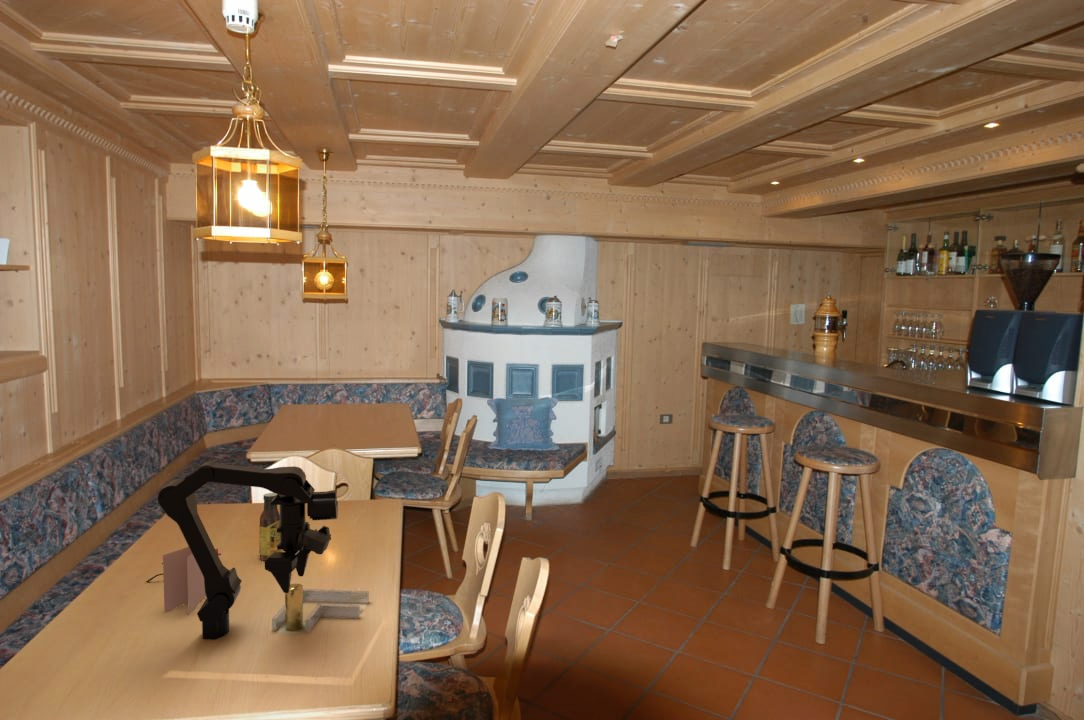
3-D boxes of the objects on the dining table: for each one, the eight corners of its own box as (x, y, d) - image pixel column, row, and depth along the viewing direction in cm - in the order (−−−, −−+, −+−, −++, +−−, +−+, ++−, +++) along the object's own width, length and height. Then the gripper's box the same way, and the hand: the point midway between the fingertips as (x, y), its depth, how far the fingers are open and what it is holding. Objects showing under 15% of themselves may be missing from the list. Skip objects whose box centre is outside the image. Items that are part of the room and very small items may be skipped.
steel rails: (349, 633, 159) (349, 621, 158) (272, 630, 159) (271, 618, 159) (368, 602, 175) (368, 591, 175) (299, 599, 176) (298, 588, 175)
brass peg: (299, 631, 159) (298, 591, 158) (282, 630, 159) (282, 590, 158) (305, 623, 163) (305, 583, 162) (289, 622, 163) (288, 583, 162)
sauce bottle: (273, 562, 202) (272, 498, 200) (254, 560, 203) (254, 496, 201) (285, 554, 208) (285, 492, 206) (267, 552, 209) (267, 490, 208)
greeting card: (203, 594, 180) (202, 540, 178) (221, 601, 176) (220, 546, 175) (162, 611, 170) (160, 554, 168) (180, 618, 166) (179, 560, 165)
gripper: (312, 535, 149) (313, 602, 151) (338, 509, 168) (339, 569, 169) (262, 534, 149) (264, 601, 151) (294, 508, 168) (296, 568, 170)
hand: (293, 584), depth 160 cm, fingers open, 9 cm apart
